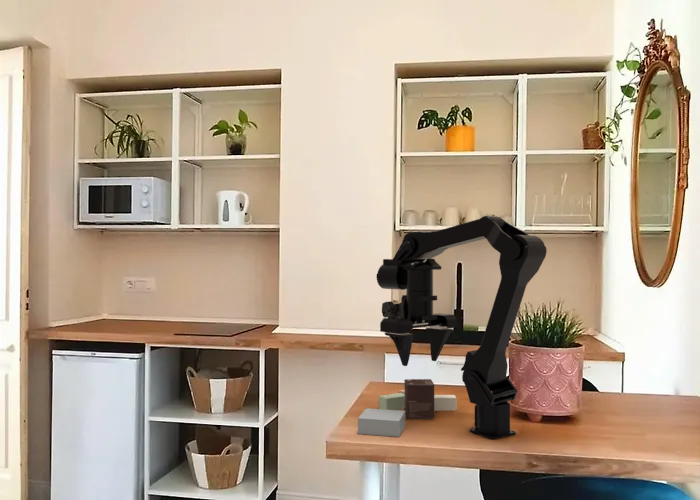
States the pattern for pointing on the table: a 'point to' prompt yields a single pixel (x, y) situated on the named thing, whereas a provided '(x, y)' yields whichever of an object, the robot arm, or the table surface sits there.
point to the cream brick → (445, 403)
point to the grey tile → (381, 422)
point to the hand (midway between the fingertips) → (419, 363)
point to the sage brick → (392, 401)
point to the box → (419, 399)
